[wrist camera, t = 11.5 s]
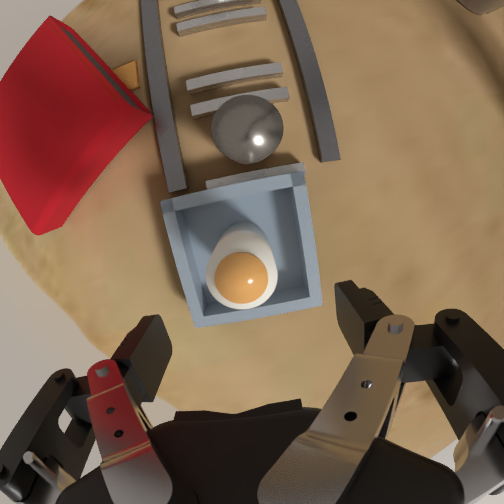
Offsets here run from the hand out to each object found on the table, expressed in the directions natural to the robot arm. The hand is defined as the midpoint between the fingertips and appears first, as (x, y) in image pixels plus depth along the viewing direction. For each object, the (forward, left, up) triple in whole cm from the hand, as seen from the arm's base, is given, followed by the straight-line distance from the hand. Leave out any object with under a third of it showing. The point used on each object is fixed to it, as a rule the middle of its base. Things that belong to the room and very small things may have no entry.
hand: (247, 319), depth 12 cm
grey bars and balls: (0, -18, -13) cm, 22 cm away
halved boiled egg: (0, 0, -12) cm, 12 cm away
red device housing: (+16, -17, -13) cm, 27 cm away
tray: (0, 0, -13) cm, 13 cm away
